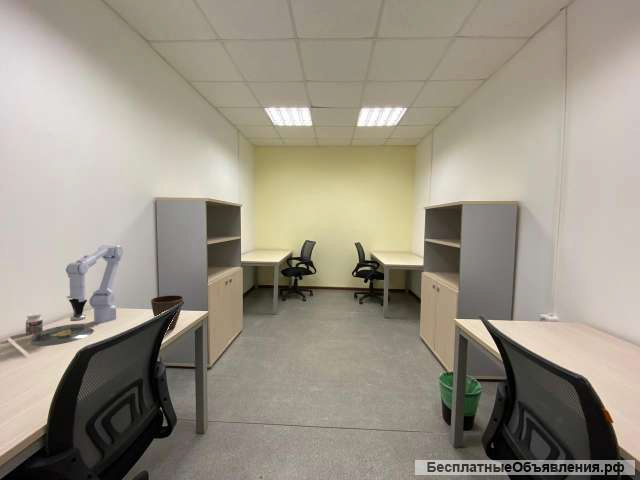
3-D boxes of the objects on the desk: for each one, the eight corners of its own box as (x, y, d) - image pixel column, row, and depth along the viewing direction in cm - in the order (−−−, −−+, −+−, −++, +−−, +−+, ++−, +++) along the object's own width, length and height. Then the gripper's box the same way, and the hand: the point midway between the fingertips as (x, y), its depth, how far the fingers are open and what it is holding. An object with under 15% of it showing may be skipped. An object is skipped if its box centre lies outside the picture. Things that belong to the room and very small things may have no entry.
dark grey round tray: (83, 326, 144) (83, 320, 144) (101, 335, 133) (101, 329, 133) (24, 340, 125) (23, 334, 125) (39, 352, 114) (39, 345, 114)
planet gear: (83, 316, 137) (83, 306, 137) (86, 319, 134) (86, 308, 134) (68, 319, 133) (68, 308, 133) (71, 321, 130) (71, 310, 129)
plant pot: (178, 321, 154) (178, 293, 154) (187, 328, 144) (186, 298, 143) (148, 327, 144) (147, 298, 143) (155, 335, 133) (155, 304, 133)
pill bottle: (31, 337, 129) (31, 316, 129) (22, 335, 131) (22, 315, 130) (45, 332, 135) (45, 313, 135) (37, 331, 136) (36, 312, 136)
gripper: (63, 285, 134) (63, 312, 135) (70, 290, 125) (71, 318, 126) (81, 283, 140) (82, 309, 140) (89, 287, 131) (90, 314, 132)
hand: (78, 313), depth 133 cm, fingers closed on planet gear, 3 cm apart
